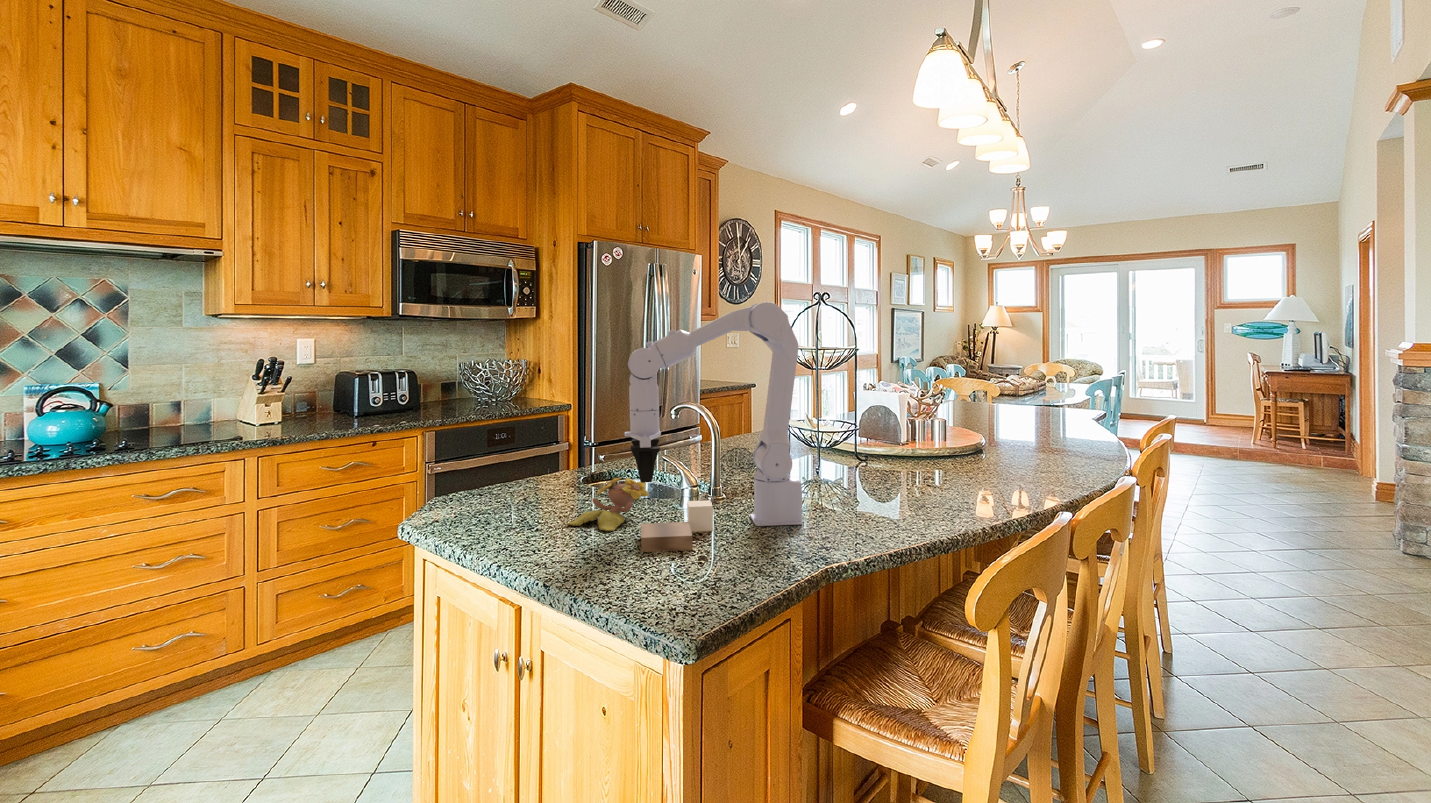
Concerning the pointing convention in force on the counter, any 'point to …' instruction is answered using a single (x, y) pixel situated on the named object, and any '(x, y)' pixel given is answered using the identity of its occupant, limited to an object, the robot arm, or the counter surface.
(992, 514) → the counter surface
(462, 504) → the counter surface
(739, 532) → the counter surface
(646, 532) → the walnut block
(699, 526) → the ceramic cube
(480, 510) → the counter surface
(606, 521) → the figurine
